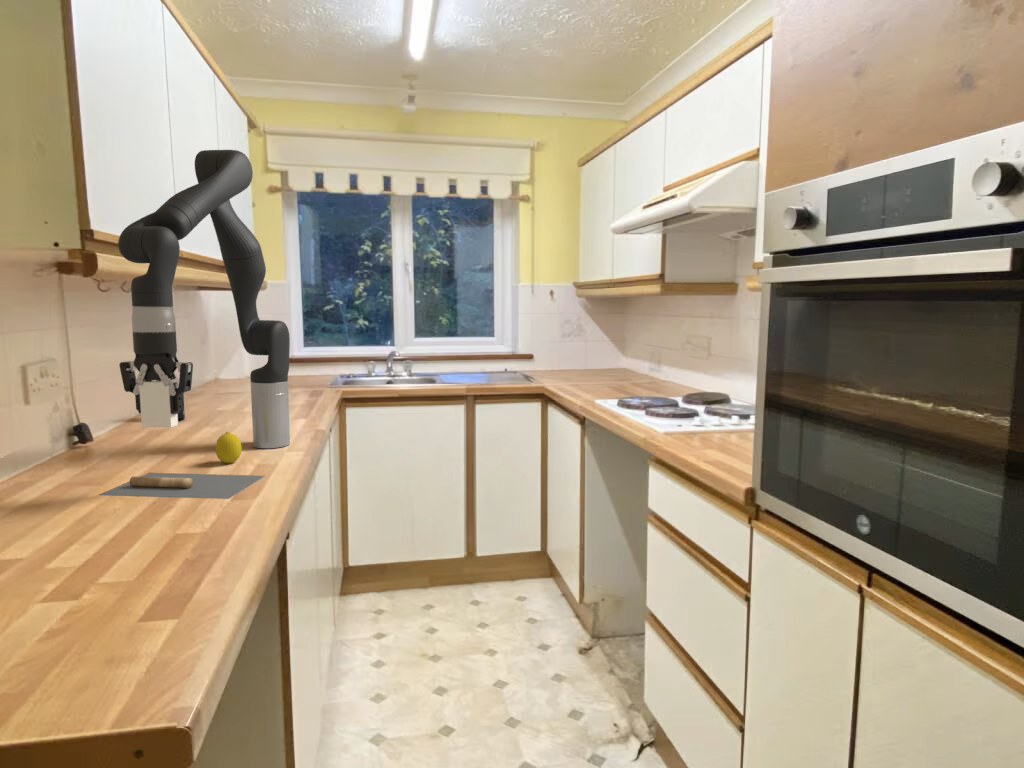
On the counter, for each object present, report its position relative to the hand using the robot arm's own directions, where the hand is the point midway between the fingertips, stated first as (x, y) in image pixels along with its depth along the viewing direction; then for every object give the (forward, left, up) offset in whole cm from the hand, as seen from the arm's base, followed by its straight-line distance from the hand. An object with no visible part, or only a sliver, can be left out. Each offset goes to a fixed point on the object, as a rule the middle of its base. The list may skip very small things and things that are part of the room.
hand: (159, 412), depth 127 cm
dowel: (+1, 0, -16) cm, 16 cm away
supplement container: (-70, -40, -16) cm, 82 cm away
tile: (0, 0, -3) cm, 3 cm away
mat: (-1, +4, -16) cm, 16 cm away
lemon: (-19, +4, -16) cm, 25 cm away
